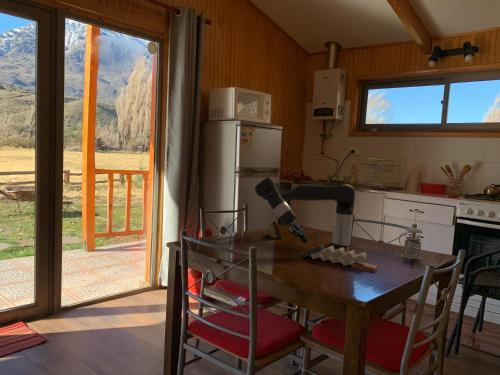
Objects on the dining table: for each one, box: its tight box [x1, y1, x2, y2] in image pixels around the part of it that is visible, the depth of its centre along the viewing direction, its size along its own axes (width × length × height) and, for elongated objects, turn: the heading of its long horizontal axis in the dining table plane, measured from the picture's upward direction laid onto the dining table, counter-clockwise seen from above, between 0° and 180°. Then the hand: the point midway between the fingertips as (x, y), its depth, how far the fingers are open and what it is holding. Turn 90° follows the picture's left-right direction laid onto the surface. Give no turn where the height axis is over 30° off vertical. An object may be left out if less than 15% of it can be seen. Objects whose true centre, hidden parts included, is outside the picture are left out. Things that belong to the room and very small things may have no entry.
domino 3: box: [320, 246, 346, 262], centre depth 183 cm, size 2×5×10 cm
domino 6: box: [350, 261, 378, 273], centre depth 176 cm, size 2×5×10 cm
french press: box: [398, 208, 423, 260], centre depth 201 cm, size 10×12×25 cm
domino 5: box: [341, 251, 368, 267], centre depth 178 cm, size 2×5×10 cm
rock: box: [266, 220, 284, 240], centre depth 228 cm, size 11×9×10 cm
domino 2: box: [310, 245, 336, 260], centre depth 185 cm, size 2×5×10 cm
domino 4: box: [330, 249, 356, 265], centre depth 181 cm, size 2×5×10 cm
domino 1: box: [301, 243, 326, 258], centre depth 188 cm, size 2×5×10 cm
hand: (306, 242), depth 189 cm, fingers closed
